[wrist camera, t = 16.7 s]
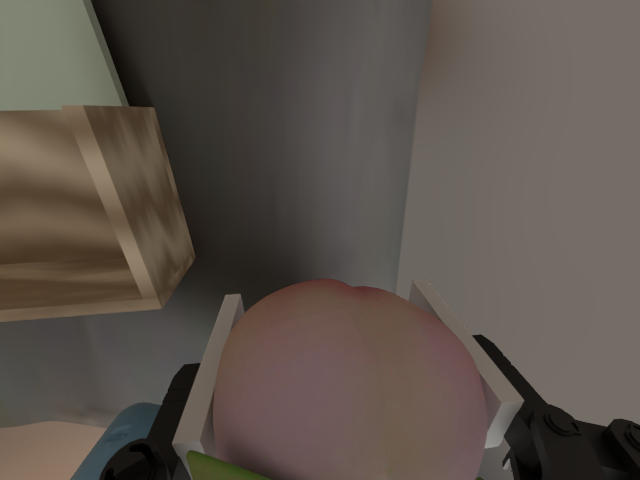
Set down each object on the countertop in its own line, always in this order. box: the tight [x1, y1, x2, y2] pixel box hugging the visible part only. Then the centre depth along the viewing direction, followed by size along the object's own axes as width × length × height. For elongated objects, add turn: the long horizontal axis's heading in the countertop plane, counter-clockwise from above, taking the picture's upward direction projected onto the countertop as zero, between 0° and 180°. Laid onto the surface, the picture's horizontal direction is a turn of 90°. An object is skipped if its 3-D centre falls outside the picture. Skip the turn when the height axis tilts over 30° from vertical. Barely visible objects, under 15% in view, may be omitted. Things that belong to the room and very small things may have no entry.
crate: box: [0, 105, 196, 322], centre depth 22 cm, size 16×24×9 cm, turn 91°
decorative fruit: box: [186, 279, 488, 480], centre depth 10 cm, size 9×8×10 cm
